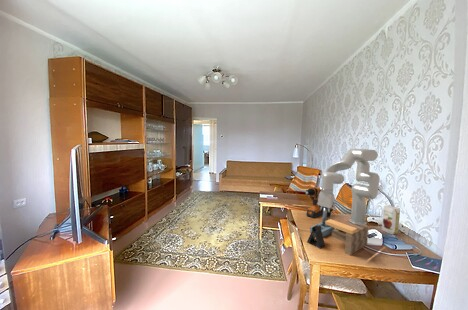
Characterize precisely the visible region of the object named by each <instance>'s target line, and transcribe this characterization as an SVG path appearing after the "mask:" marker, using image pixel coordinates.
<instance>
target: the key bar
mask: <svg viewBox="0 0 468 310" xmlns="http://www.w3.org/2000/svg"><path fill="white" fill-rule="evenodd" d="M325 224H326V225H329V226H331V227H334V228H335V229H336V228H337V229H339V230H342V231H344V232H347V233H350V234H354V233H355V232H357V227H354V226H351V225H349V224H345V223H343V222H340V221H337V220H335V219H331V218H330V219H329V218H328V220H327V221H325Z"/></svg>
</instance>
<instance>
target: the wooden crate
mask: <svg viewBox="0 0 468 310" xmlns="http://www.w3.org/2000/svg"><path fill="white" fill-rule="evenodd" d="M356 228H357V232H355V233H354V234H350V233H347V232H344V231H342V230H339V229H337V228H335V229H334V230H332V233H331V237H332V238H336V239H338V240H339V241H342V242H345V244H344V253H345V254H347V255H349V256H351V255H353V254H354V253H356V252H357V251H359V250H362V248H364V247H366V246H367V245H368V236H369V225H368V224H367V225H364V224H362V225H358V226H356Z"/></svg>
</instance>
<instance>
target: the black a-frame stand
mask: <svg viewBox="0 0 468 310" xmlns="http://www.w3.org/2000/svg"><path fill="white" fill-rule="evenodd" d="M315 225H316V224H315ZM313 226H314V225H313ZM306 243H307V244H308V245H311V246H313V247H315V248H317V249H322V248H323V247H325V246H326V245H325V240H324V237H323V235H322V232H321V226H320V225H319V226H318V225H316V226H314V227H312V232H311V233H310V235H309V236H308V239H307V240H306Z"/></svg>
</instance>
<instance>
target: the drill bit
mask: <svg viewBox="0 0 468 310" xmlns="http://www.w3.org/2000/svg"><path fill="white" fill-rule="evenodd" d="M327 212H328V208H326V207H323V215H321V216H322V218H321V220H322V221H321V222H322V224H325V221H327V220H329V218H330V217H327ZM325 225H326V224H325Z"/></svg>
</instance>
